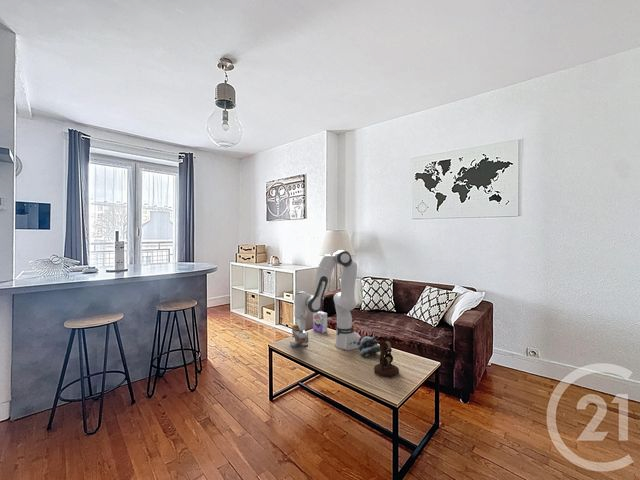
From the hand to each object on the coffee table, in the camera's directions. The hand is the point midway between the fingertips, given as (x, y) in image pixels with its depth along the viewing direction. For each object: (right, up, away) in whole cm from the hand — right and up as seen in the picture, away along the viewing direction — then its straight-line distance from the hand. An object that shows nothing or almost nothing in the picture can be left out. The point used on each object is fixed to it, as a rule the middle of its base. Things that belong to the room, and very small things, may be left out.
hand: (300, 332), depth 217 cm
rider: (+1, -2, -4) cm, 5 cm away
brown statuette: (+54, -13, -38) cm, 67 cm away
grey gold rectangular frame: (-1, -12, +3) cm, 12 cm away
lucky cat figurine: (+48, -12, -11) cm, 50 cm away
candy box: (+14, -11, +41) cm, 45 cm away
